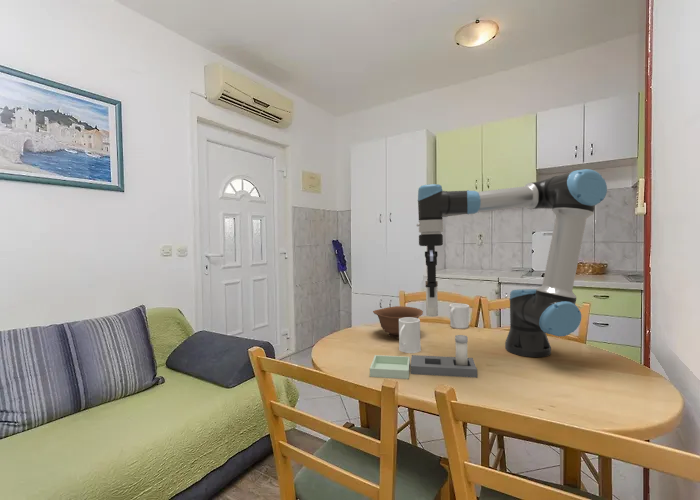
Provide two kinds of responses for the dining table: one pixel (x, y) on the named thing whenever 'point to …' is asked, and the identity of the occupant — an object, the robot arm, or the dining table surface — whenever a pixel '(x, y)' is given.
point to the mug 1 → (409, 335)
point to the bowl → (395, 318)
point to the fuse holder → (446, 362)
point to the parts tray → (390, 367)
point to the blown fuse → (431, 310)
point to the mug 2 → (459, 316)
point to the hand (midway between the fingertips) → (432, 305)
